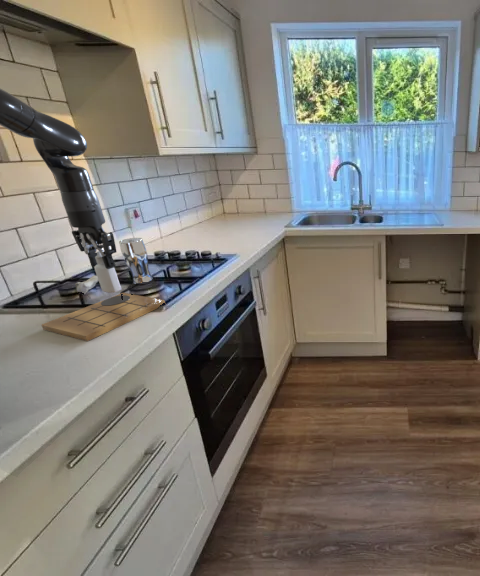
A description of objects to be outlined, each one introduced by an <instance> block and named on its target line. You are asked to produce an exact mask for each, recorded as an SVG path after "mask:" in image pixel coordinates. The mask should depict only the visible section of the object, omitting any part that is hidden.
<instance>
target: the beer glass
mask: <svg viewBox="0 0 480 576" xmlns="http://www.w3.org/2000/svg"><path fill="white" fill-rule="evenodd" d="M118 244H119V248H120V252H121V256H122V258H123V260H124V263H125V264H126V266H127V269H128V270H129V271H130V274H131V278H132V285H134V284H136V283H142V282H150V281H152V282H154V278H153V275H152V274H151V271H150V267H149V266H150V265H149V256H148V252H147V251H148V250H147V248H146V245H145V242H144V240H143V238H142V237H129V238H124V239H121V240H119V241H118Z"/></svg>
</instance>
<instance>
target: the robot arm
mask: <svg viewBox="0 0 480 576" xmlns="http://www.w3.org/2000/svg"><path fill="white" fill-rule="evenodd" d="M0 126H1V127H2V128H4V129H7V130H8V131H10V132H12V133H14V134H16V135H18V136H20V137H23V138H28V139H32V142H33V145H34V147H35V150H36V151H37V153H38V154H39V156H40V158H41V159H42V161H43V162H44V163H45V165H46V167H47V168H48V169H49V171H50V172H51V173H52V174H53V176H54V179H55V182H56V184H57V187H58V190H59V193H60V197H61V202H62V204H63V207H64V210H65V212H66V216H67V218H68V222H69V223H70V226H71V227H72V228H75V229H76V230H72V231H71V235H72V236H73V238H74V241H75V242H76V244H77V246H78V249H79V251H80V252H82V253H83V252H84V254H85V255H87V257H88V260H89V263H90V266H91V267H95V266H96V265H97V261H96V259H95V257H96V256H97V251H99V252H100V253H101V255H102V259H103V261H104V264H105V267H106V268H107V269H111V268H115V267H116V264H115V261H114V257H113V254H116V253H118V252H117V246H116V241H115V236H114V233H113V232H107V231H105V229H104V228H103V225H104V224H105V223H106V219H105V215H104V213H103V210H102V206H101V204H100V201H99V200H100V199H99V198H98V195H97V194H96V191H95V189H94V186H93V183H92V180H91V176H90V173H89V172H88V170H87V168H85V167H83V166H79V165H76V164H74V163H73V161H72V160H71V159H70V158H69V157H79V156H83V155H84V154H85V153H86V151H87V149H88V142H87V140H86V138H85V136H84V135H83V134H82V133H81V132H80V131H79V130H78V129H76V128H75V127H74V126H72V125H70V124H68V123H67V122H64V121H62V120H60V119H58V118H55V117H53V116H51V115H49V114H46V113H45V112H41V111H40V110H39V111H38V110H37V109H35V108H34V107H33V106H30V105H29V104H28V103H26V102H25V101H23V100H22V99H20V98H18V97H16V96H15V95H13V94H12V93H9V91H6V90H4V89H3V88H0Z"/></svg>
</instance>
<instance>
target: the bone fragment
mask: <svg viewBox="0 0 480 576" xmlns="http://www.w3.org/2000/svg"><path fill="white" fill-rule="evenodd" d="M98 283H99V280H98V277H97V275H92V276H91V277H90V278H88V279H86V280H84V281H82V282H81V281H77V282H76V283H75V284H74V286H75V289H76V292H77V293H78V292H82V293H84V295H86V294H87V293H88V292H89V290H92V289H93V288H94V287H95V286H96V285H97V284H98Z"/></svg>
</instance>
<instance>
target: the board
mask: <svg viewBox="0 0 480 576" xmlns="http://www.w3.org/2000/svg"><path fill="white" fill-rule="evenodd" d="M121 294H123V295H122V296H123V300H122V299H121ZM131 294H132V293H127V292H121V293H119V294H115V295H114V296H111V297H109V298H105V299H103V300H101V301H98V302H96V303H93V304H91V305H88V306H86V307H85V306H84V307H82V308H80V309H78V310H75V311H72V312H70V313H68V314H64V315H62V316H59V317H58V318H54V319H52V320H50V321H47V322H45V323H42V324H41V327H42V329H43V331H48V332H50V333H55V334H58V335H63V336H67V337H69V338H70V337H71V338H73V339H76V340H77V339H78V340H81V341H85V342H89V341H91V340H93V339H95V338H98V337H99V336H102V335H103V334H106V333H108V332H111V331H112V330H115V329H117V328H119V327H121V326H123V325H126V324H127V323H130V322H132V321H134V320H136V319H138V318H140V317H143V316H144V315H147V314H148V313H151V312H153V311H155V310H158V309H159V308H160V307H159V306H160V305H162V304H163V303H165V304H166V301H165V300H164V299H160V298H155V297H150V296H149V297H148V296H144V295H138V294H133V295H131ZM158 307H159V308H158Z"/></svg>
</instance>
